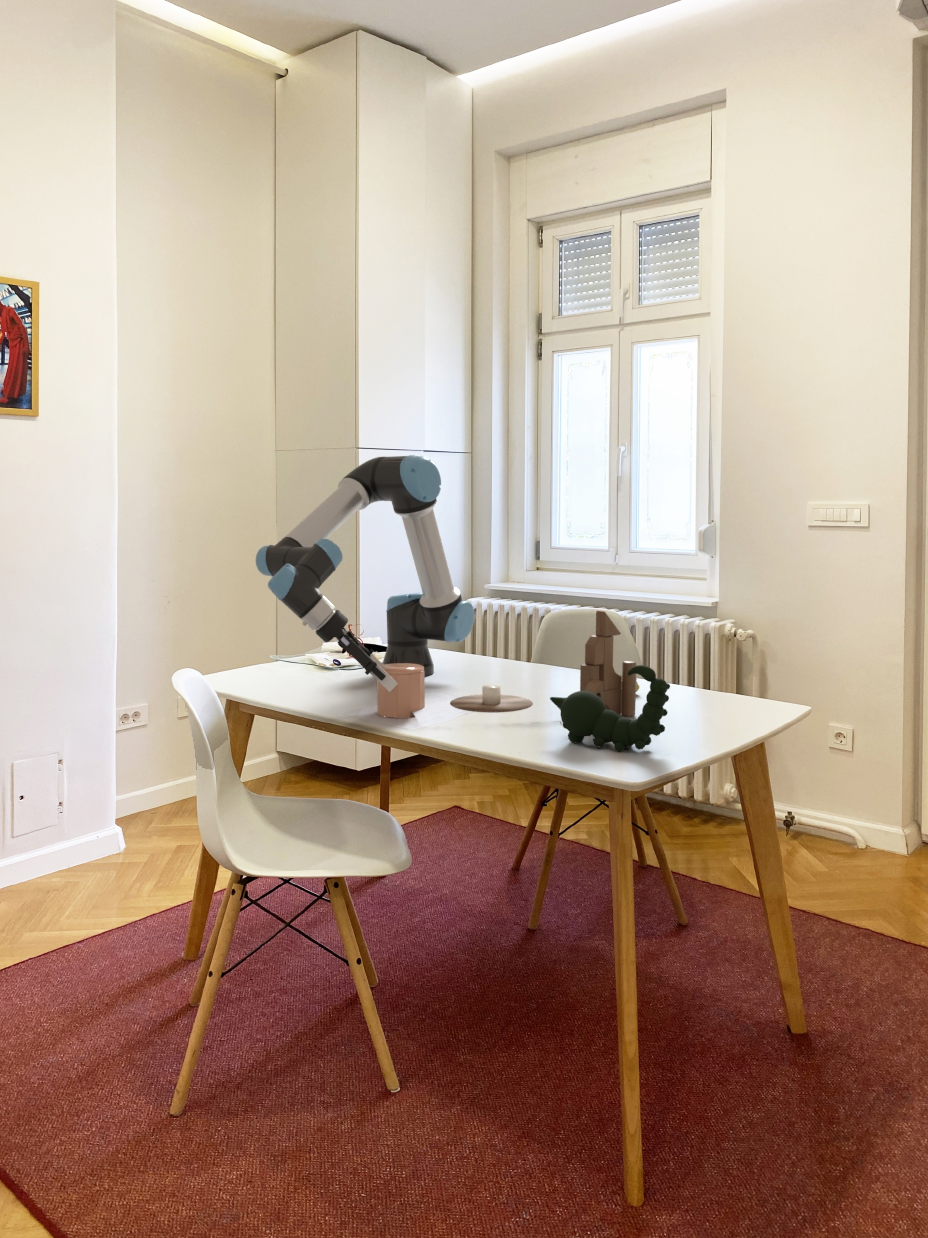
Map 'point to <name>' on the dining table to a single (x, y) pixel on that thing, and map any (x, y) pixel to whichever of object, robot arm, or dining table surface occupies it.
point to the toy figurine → (614, 716)
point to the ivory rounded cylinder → (491, 694)
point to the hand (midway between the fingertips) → (390, 682)
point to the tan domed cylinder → (402, 691)
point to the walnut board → (476, 705)
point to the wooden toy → (607, 670)
